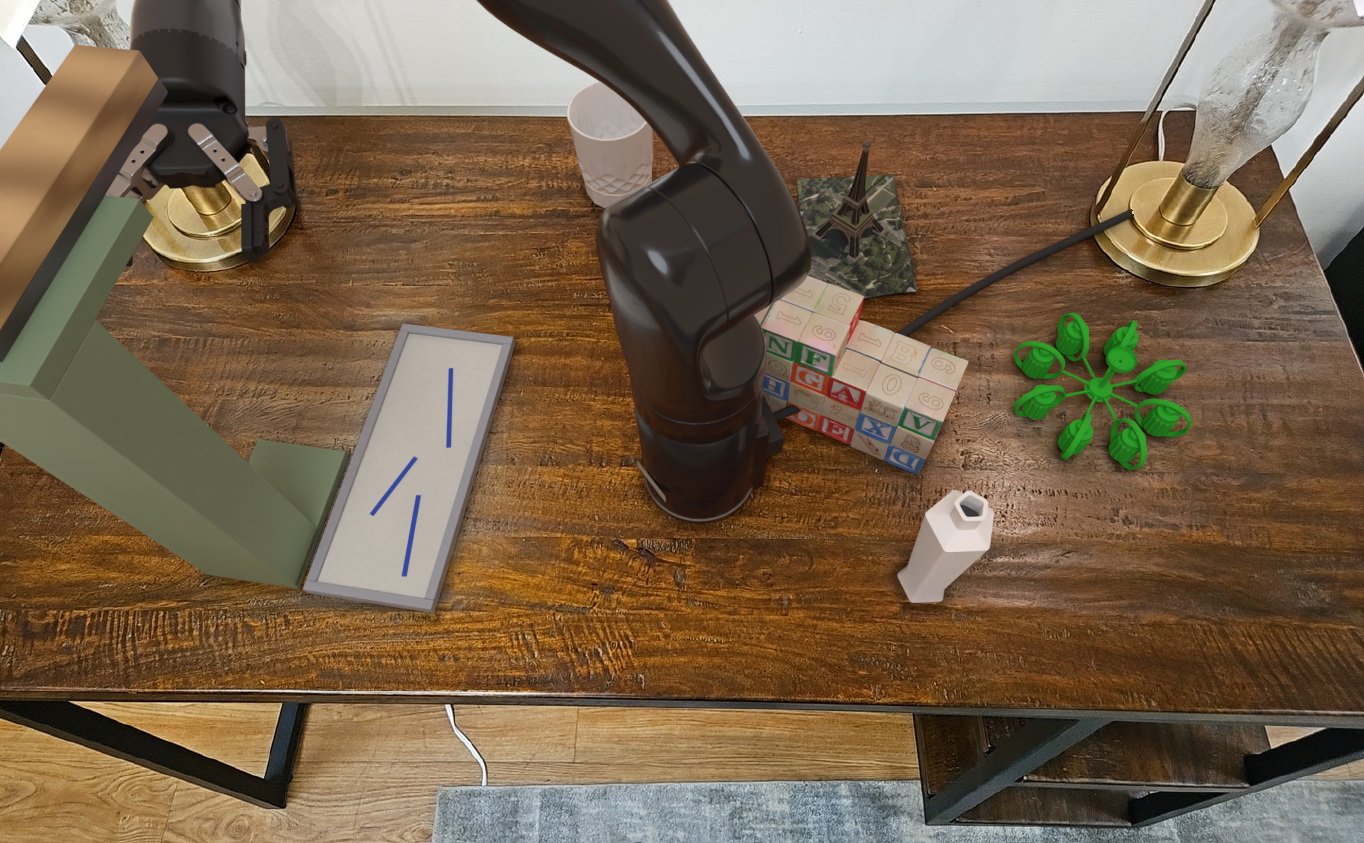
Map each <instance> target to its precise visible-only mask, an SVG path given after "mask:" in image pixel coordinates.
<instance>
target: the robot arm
mask: <svg viewBox="0 0 1364 843" xmlns="http://www.w3.org/2000/svg"><path fill="white" fill-rule="evenodd" d="M475 1H476V2H477V3H478V4H479V5H480V6H481V7H482V8H483V9H484V10H485V11H486V12H488V13H489V14H490V15H492V17H494V18H495V19H497V21H499V22H501V23H502V24H503V25H505V26H507V27H508V28H509V29H511V30H512V31H514V32H515V33H517V34H518V35H520V36H521V37H523V38H524V39H526V40H527V41H529V42H531V43H533V44H534V45H536V46H537V47H539V48H541V49H543V50H545V51H546V52H548V53H550V54H552V55H553V56H555V57H557V58H559V59H560V60H562V61H564V62H566V63H568V64H569V65H571V66H572V67H575V68H576V69H578V70H580V71H582V72H583V73H585V74H587V75H588V76H590V77H591V78H592V79H595V80H596V81H597V82H598V81H600V82H601V83H603V84H604V85H606V86H607V87H608V88H610V89H611V90H613V91H614V92H615V93H617V94H618V95H619V96H620V97H621V98H623V99H624V100H625V101H626V102H627V103H628V104H630V105H631V106H632V107H633V108H634V109H635V110H636V111H637V112H638V113H639V114H640V115H641V116H642V118H643V119H644V120H645V121H646V122H647V123H648V124H649V125H650V127H651V128H652V129H653V133H654V134H656V135H657V137H658V138H659V140H660V141H661V142H662V143H663V145H664V146H665V147H666V149H667V150H668V152H669V153H670V155H671V156H672V158H673V159H674V160H675V162H676V164H677V165H678V167H677V168H675V169H673V170H671V171H670V172H668V173H666V174H664V175H662V176H660V177H658V178H656V179H655V180H652V182H651V183H649V184H647V185H646V186H644V187H642V188H640V189H638V190H636V191H634V192H632V193H631V194H629V195H627V196H625V197H623V198H622V199H620V200H618V201H616V202H614V203H613V204H611V205H610V206H608V207H607V208H606V209H605V208H604V210H603V211H602V212H601V214H600V215H599V217H598V220H597V223H596V226H595V238H594V240H595V247H596V248H595V249H596V255H597V260H598V265H599V269H600V272H601V276H602V279H603V283H604V287H605V290H606V294H607V298H608V302H609V305H610V309H611V315H612V319H613V324H614V328H615V332H616V336H617V339H618V343H619V346H620V348H621V351H622V355H623V357H624V360H625V363H626V367H627V369H628V370H627V371H628V377H629V381H630V389H631V395H632V402H633V408H634V413H635V420H636V426H637V432H638V439H639V440H638V441H639V446H640V453H641V458H642V460H641V461H642V464H641V463H640V462H639V460H636V463H637V468H638V469H639V470H640V471H641V473H642V474H643V480H644V484H645V485H644V486H645V487H646V491H647V494H648V495H649V497H650V499H651V500H652V501H653V503H654V504H655V505H656V506H657V507H658V509H660V510H661V511H662V512H663V513H664V514H666V515H667V516H669V517H671V518H673V519H675V520H677V521H680V522H683V523H687V524H695V525H697V524H698V525H707V524H712V523H716V522H720V521H722V520H725V519H727V518H728V517H731V516H732V515H734V514H735V513H736V512H737V511H739V510H740V509H741V508H742V507H743V506H744V505H745V504H746V503H747V501H748V499H749V498H750V496H751V494H752V493H753V491H754V490H756V489H758V488H761V487H763V486H764V484H765V477H766V476H765V475H766V469H767V467H766V466H767V460H768V458H770V457H772V456H775V455H779V454H781V453H783V447H784V441H785V436H784V434H783V432H782V430H781V427H780V426H779V424H778V422H779V421H781V420H784V419H787V418H786V417H788V416H791V415H793V414H795V413H798V412H800V411H801V409H800V408H798V407H797V406H795V405H790V406H787V407H785V408H783V409H780V410H778V411H775V412H773V413H772V411H771V409H770V407H769V405H768V403H767V401H766V399H765V397H764V395H763V386H764V376H765V366H766V340H765V336H764V333H763V330H762V328H761V326H760V324H759V322H758V320H757V318H756V317H755V316H754V315H755V314H757V313H758V312H760V311H762V310H763V309H765V308H767V307H768V306H770V305H772V304H773V303H775V302H776V301H778V300H780V299H781V298H783V297H785V296H786V295H788V294H789V293H791V292H792V291H794V290H795V289H796V288H798V287H799V286H800V285H801V284H802V283H803V282H804V281H805V280H806V278H807V276H808V273H809V271H810V268H811V254H812V253H811V246H810V241H809V237H808V233H807V229H806V226H805V223H804V221H803V218H802V216H801V213H800V208H799V206H798V205H797V202H796V200H795V198H794V196H793V195H792V192H791V190H790V188H789V187H788V185H787V183H786V181H785V179H784V178H783V176H782V174H781V172H780V171H779V170H778V168H777V167H776V164H774V162H773V160H772V159H771V157H770V155H769V154H768V152H767V151H766V149H765V147H764V145H762V143H761V142H760V140H759V138H758V137H757V135H756V134H755V132H754V131H753V129H752V128H751V126H750V125H749V123H748V122H747V120H746V118H744V116H743V114H742V113H741V111H740V109H739V108H738V106H737V105H736V103H735V102H734V101H733V99H732V97H730V95H729V93H728V92H727V90H726V89H725V87H724V86H723V84H722V83H721V82H720V80H719V79H718V77H717V75H716V74H715V72H714V71H713V69H712V68H711V66H710V65H709V63H708V62H707V60H706V59H705V57H704V56H703V54H702V53H701V51H700V49H699V48H698V46H697V45H696V43H695V42H694V41H693V39H692V37H691V36H690V34H689V32H688V31H687V29H686V27H685V26H684V23H682V21H681V19H680V18H679V16H678V14H677V13H676V11H675V9H674V7H673V5H672V4H671V2H670V1H669V0H475ZM129 22H130V24H129V25H130V26H129V50H138V51H140V52H141V54H142V55H143V57H144V58H145V60H146V61H147V63H148V64H149V65H150V67H151V68H152V70H153V71H154V73H155V74H156V76H157V77H158V79H159V80H160V81H161V83H162V84H163V86H164V87H165V89H166V90H167V92H168V94H167V95H166V97H165V99H164V100H163V102H162V103H161V105H160V107H159V108H158V110H157V111H156V113H155V115H154V116H153V118H152V120H151V121H150V123H149V124H148V126H147V128H146V129H145V131H144V133H143V134H142V136H141V137H140V139H139V141H138V142H137V144H136V146H135V147H134V149H133V150H132V152H131V154H130V155H129V157H128V159H127V160H126V162H125V163H124V165H123V167H122V168H121V170H120V172H119V173H118V175H117V176H116V178H115V180H114V181H113V183H112V184H111V186H110V188H109V189H108V191H107V193H106V194H105V195H108V196H117V197H126V198H135V199H139V200H140V201H141V202H142V203H143V204H144V202H145V201H151V200H152V199H153V198H155V197H156V195H157V194H158V193H159V192H160V191H161V190H162V188H164V187H165V186H167V187H168V188H169V189H170V190H173V189H174V190H175V189H176V190H177V189H178V190H179V189H185V188H189V187H198V188H203V189H213V188H214V189H215V188H217V185H219V184H220V183H222V182H224V181H225V182H226V184H227V185H229V187H230V188H231V189H232V191H234V192H235V194H237V196H239V197H240V198H241V199H242V200H243V201H244V202H245V203H240V249H241V253H242V255H243V256H244V258H245V259H246V261H247V262H248V263H260V262H261V261H262V255H267V254H268V252H269V250H270V215H271V213H272V212H273V211H275V210H276V209H280V208H282V207H283V208H286V209H291V208H293V207H295V206H296V205H297V202H298V197H297V196H298V195H297V185H296V173H295V163H294V162H295V161H294V151H293V150H294V149H293V141H292V139H291V137H290V134H289V132H288V130H287V128H286V126H285V124H284V123H283V120H281V119H279V118H277V117H273V118H270V119H268V120H267V121H266V123H265V125H259V126H247V125H246V67H247V64H248V63H247V61H248V60H247V58H248V57H247V51H246V39H245V32H244V30H245V29H244V26H243V20H242V0H133V4H132V8H131V12H130V21H129ZM253 146H257V147H258V148H259V150H260V151H261V153H262V155H263V156H264V157H266V158H267V159H268V170H269V181H270V183H268V184H265V185H261V186H259V185H257V183H256V182H255V181H254V180H253V179H252V178H251V176H249V175H248V173H246V171H245V169H243V168H242V166H241V165H240V163H241V161H243V159H244V158H245V157H246V155H247V154H248V153H249V152H250V151H251V150H252V147H253ZM144 170H146V171H147V173H146V174H145V175H144V176H143V177H142V174H143V172H144ZM1132 211H1133V210H1132V209H1131V208H1130V209H1127V210H1125V211H1123V212H1121V213H1119V214H1117V215H1115V216H1113V217H1110V218H1108V219H1106V220H1104V221H1101V222H1099V223H1097V224H1095V225H1093V226H1090V227H1088V228H1086V229H1084V230H1082V231H1079V232H1077V233H1075V234H1073V235H1071V236H1069V237H1066V238H1064V239H1062V240H1060V241H1057V242H1055V243H1053V244H1050V245H1049V246H1046V247H1044V248H1042V249H1040V250H1037V251H1035V252H1034V253H1031V254H1029V255H1026V256H1025V257H1023V258H1021V259H1018V260H1017V261H1015V262H1012V263H1011V264H1009V265H1007V266H1005V267H1003V268H1001V269H999V270H997V271H995V272H993V273H991V274H989V275H988V276H985V277H984V278H982V279H980V280H978V281H976V282H974V283H972V284H971V285H969V286H967V287H966V288H964V289H962V290H961V291H959V292H956V293H955V294H953V295H952V296H950V297H949V298H947V299H945V300H944V301H942V302H940V303H939V304H936V306H934V307H932V308H931V309H930V310H928V311H926V312H925V313H923V314H922V315H921V316H919V317H917V318H916V319H914V320H913V321H911V322H910V323H909V324H907V325H906V326H905V327H903V328H902V329H900V330H899V331H897V333H898V334H901V335H903V336H906V337H908V336H910V335H911V334H912V333H914V332H915V331H917V330H918V329H920V328H922V327H923V326H924V325H925V324H927V323H929V322H930V321H932V320H933V319H934V318H937V317H938V316H939V315H941V314H942V313H944V312H946V311H948V310H949V309H951V308H952V307H954V306H956V305H957V304H959V303H960V302H962V301H964V300H965V299H967V298H969V297H971V296H972V295H974V294H976V293H978V292H980V291H981V290H983V289H986V288H987V287H988V286H990V285H993V284H994V283H996V282H999V281H1000V280H1002V279H1004V278H1006V277H1008V276H1010V275H1013V274H1014V273H1016V272H1017V271H1020V270H1022V269H1024V268H1025V267H1028V266H1030V265H1031V264H1034V263H1036V262H1038V261H1040V260H1042V259H1046V258H1047V257H1049V256H1051V255H1054V254H1056V253H1058V252H1060V251H1062V250H1065V249H1066V248H1069V247H1071V246H1072V245H1075V244H1077V243H1080V242H1082V241H1084V240H1086V239H1088V238H1090V237H1092V236H1095V235H1097V234H1099V233H1101V232H1104V231H1106V230H1108V229H1111V228H1112V227H1114V226H1117V225H1119V224H1121V223H1123V222H1125V221H1127V220H1130V219H1132V218H1133V216H1134V214H1132ZM1134 217H1135V216H1134ZM133 260H134V253H133V254H132V256H131V258H130V260H129V261H128V263H127V265H126V267H127V268H128V267H132V266H133V264H134V263H133V262H134V261H133ZM126 267H125V268H126Z"/></svg>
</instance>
